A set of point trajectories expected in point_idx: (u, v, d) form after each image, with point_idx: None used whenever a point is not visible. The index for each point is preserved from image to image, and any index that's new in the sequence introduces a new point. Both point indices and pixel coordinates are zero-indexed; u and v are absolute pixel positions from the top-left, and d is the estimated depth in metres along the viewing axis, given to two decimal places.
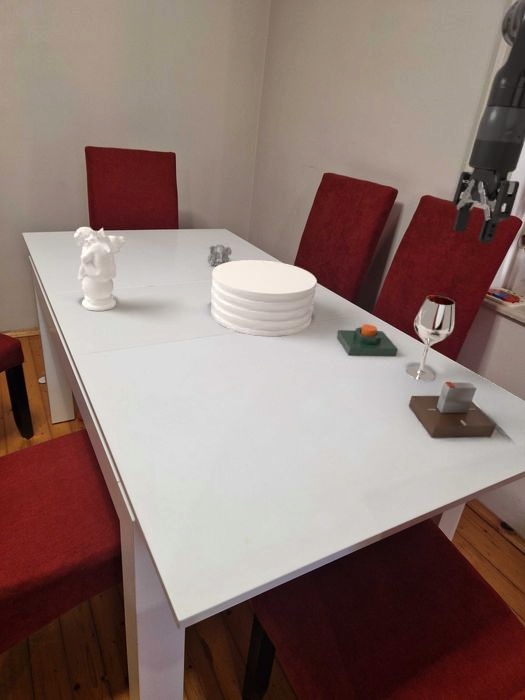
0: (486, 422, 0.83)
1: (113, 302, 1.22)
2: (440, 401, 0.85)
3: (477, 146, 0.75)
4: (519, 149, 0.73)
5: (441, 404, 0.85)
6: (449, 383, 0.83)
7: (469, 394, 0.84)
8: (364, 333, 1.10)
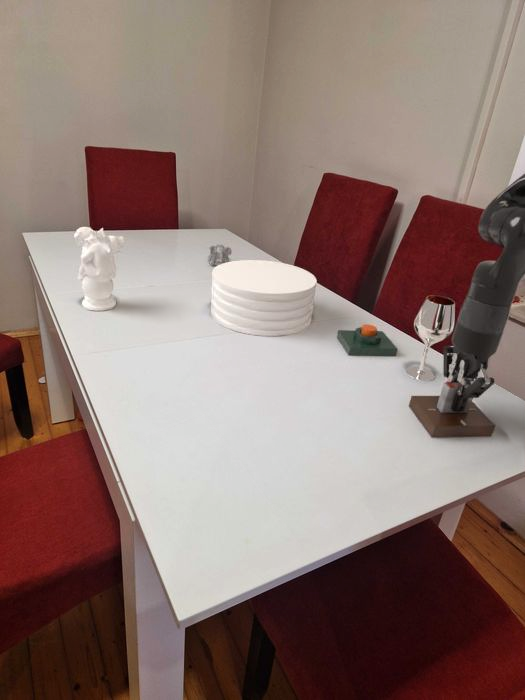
0: (486, 422, 0.83)
1: (113, 302, 1.22)
2: (440, 401, 0.85)
3: (459, 330, 0.78)
4: (499, 338, 0.76)
5: (441, 404, 0.85)
6: (449, 383, 0.83)
7: None
8: (364, 333, 1.10)
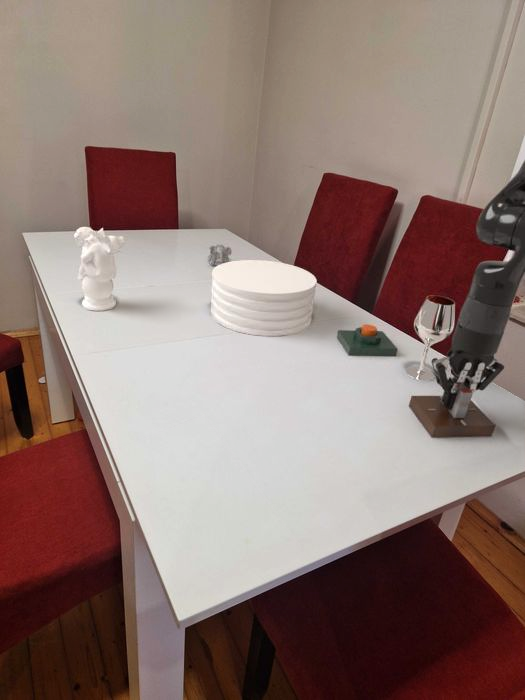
0: (486, 422, 0.83)
1: (113, 302, 1.22)
2: (460, 410, 0.83)
3: (493, 340, 0.75)
4: None
5: (463, 412, 0.83)
6: (466, 390, 0.81)
7: None
8: (364, 333, 1.10)
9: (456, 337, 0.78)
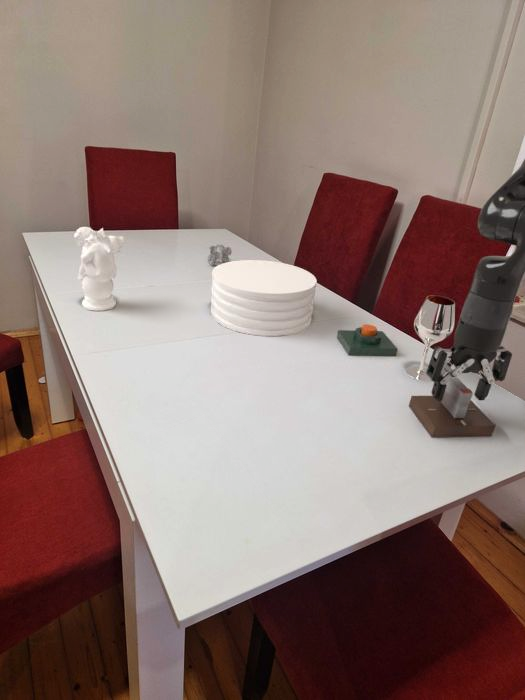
0: (486, 422, 0.83)
1: (113, 302, 1.22)
2: (460, 410, 0.83)
3: (496, 335, 0.75)
4: None
5: (463, 412, 0.83)
6: (466, 390, 0.81)
7: None
8: (364, 333, 1.10)
9: (458, 333, 0.78)
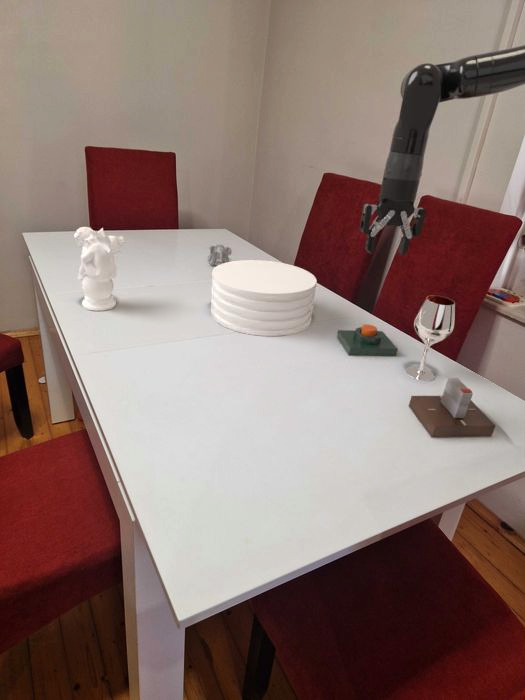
0: (486, 422, 0.83)
1: (113, 302, 1.22)
2: (460, 410, 0.83)
3: (409, 185, 0.92)
4: None
5: (463, 412, 0.83)
6: (466, 390, 0.81)
7: None
8: (364, 333, 1.10)
9: (381, 189, 0.96)
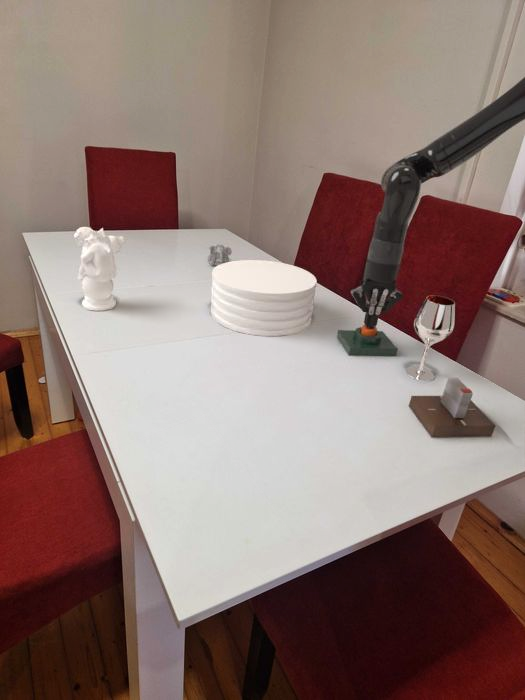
0: (486, 422, 0.83)
1: (113, 302, 1.22)
2: (460, 410, 0.83)
3: (390, 269, 1.01)
4: None
5: (463, 412, 0.83)
6: (466, 390, 0.81)
7: None
8: (364, 333, 1.10)
9: (366, 269, 1.04)
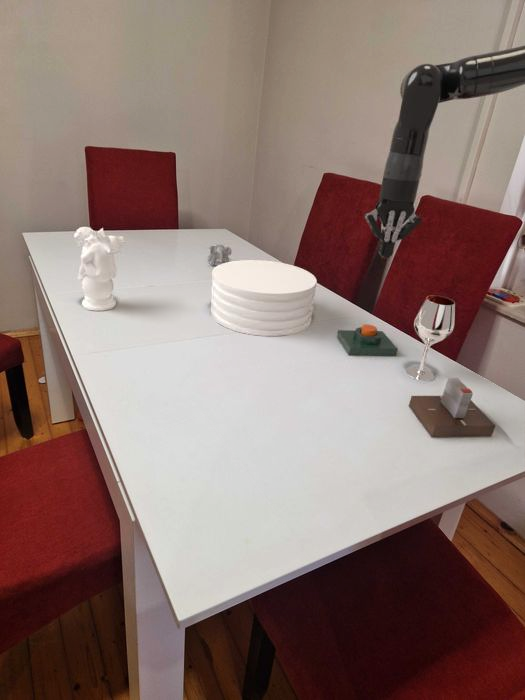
0: (486, 422, 0.83)
1: (113, 302, 1.22)
2: (460, 410, 0.83)
3: (408, 185, 0.92)
4: None
5: (463, 412, 0.83)
6: (466, 390, 0.81)
7: None
8: (364, 333, 1.10)
9: (381, 189, 0.96)
